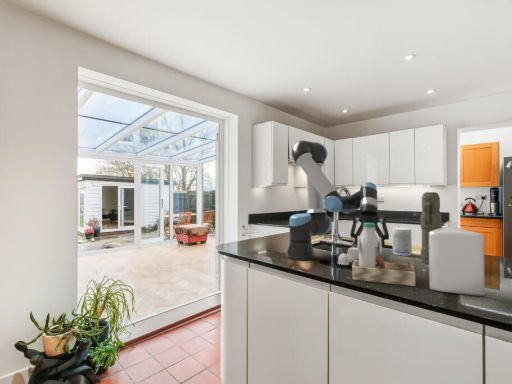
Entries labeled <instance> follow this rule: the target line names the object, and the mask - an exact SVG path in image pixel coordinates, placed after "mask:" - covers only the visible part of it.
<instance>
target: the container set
mask: <svg viewBox="0 0 512 384" xmlns="http://www.w3.org/2000/svg"><path fill="white" fill-rule="evenodd" d="M337 259H338V261H337V264H338V265H340V264H341V265H340V266H348V265H350V263H353V262H352V261H353V260H359V253H358V250H357V247H354V246H353V247H349V248H348V250H347V253H345V252H343V253H341V254H339V256H338V258H337Z"/></svg>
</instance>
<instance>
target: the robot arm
mask: <svg viewBox="0 0 512 384" xmlns="http://www.w3.org/2000/svg"><path fill="white" fill-rule="evenodd" d="M291 157H292V160H293V161H294V163H295V164H296V165H297V167H300V168H301V169H302V171H303V172H304V174H305V176H306V185H307V186H306V187H307V202H308V203H307V204H308V205H307V206H308V210H307V211H306V212H305V213H304V212H303V213H295V214H292V215H291V216H290V217H289V223H288V226H289V244H288V247H287V249H286V258H287V259H290V260H297V261H309V260H314V259H315V251H314V250H315V249H314V247H313V245H312V237H317V236H324V235H326V234H328V233H329V232H330V231H331V229H332V219H331V218H330V217H329V215H328V214H327V213H328V212H331V213H339V212H340V213H341V212H342V213H343V214H345V215H348V214H351V213H354V212H356V211H357V210H359V216H358V217H355V216H353V217H352V224H351V230H350V238H352V239H353V238H354V245H355V246H357V247H356V248H357V250H358V253H360V239H361V237H360V236H361V234H362V233H363V232H364V228H363V223H375V233H376V235H377V237H378V241H379V255H382V254H383V252H382V251H383V248H384V247H385V245H386V244H385V241H388V240H389V239H390V232H389V230H388V227H387V218H385V217H383V218H380V216H379V210H378V208H379V202H378V188H377V185H376V184H375V183H373V182H370V181H366V182H364V183H362V184H361V185H360V189H359V190H358V191H357V192H355V193H353V194H351V195H347V196H346V195H341V194H340V193H339V191H338V190H337V189H336V188H335V187H334V185H333V184H332V182H331V181H330V180H329V178H328V177H327V176H326V174H325V173H324V172H323V171H322V167H324V165H325V162H326V160H327V157H328V149H327V148H326V146H325V145H324V144H322V143H320V142H316V141H315V142H314V141H307V140H300V141H297V142H296V143H294V145H293V146H292V148H291ZM327 211H328V212H327ZM359 222H360V225H359V227H358V228H357V229H356V227H357V224H358V223H359ZM379 222H380V224H381V226H382V230H381V228H380V227H379V225H378V224H379Z"/></svg>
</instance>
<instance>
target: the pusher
mask: <svg viewBox="0 0 512 384" xmlns="http://www.w3.org/2000/svg"><path fill="white" fill-rule="evenodd" d="M388 261H389V256H387V255H383V262H384V269H388V270H389V268H388V263H389V262H388Z"/></svg>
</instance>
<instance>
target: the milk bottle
mask: <svg viewBox="0 0 512 384" xmlns="http://www.w3.org/2000/svg"><path fill="white" fill-rule="evenodd" d="M363 228H364V229H363V231H362V233H361V234H362V235H360V236H361V237H360V253H359V259H358V260H359V267H366V268H377V269H379V262H380V251H379V237H378V235H377V233H376V231H375V223H363Z"/></svg>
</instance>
